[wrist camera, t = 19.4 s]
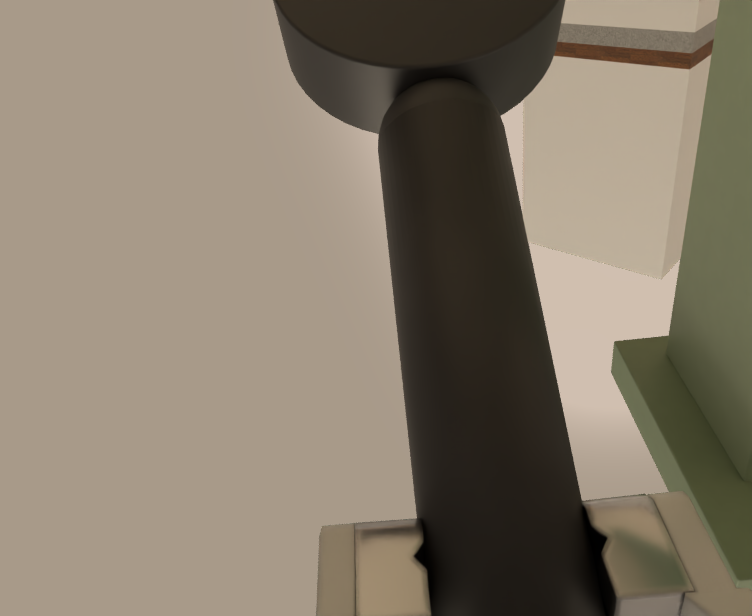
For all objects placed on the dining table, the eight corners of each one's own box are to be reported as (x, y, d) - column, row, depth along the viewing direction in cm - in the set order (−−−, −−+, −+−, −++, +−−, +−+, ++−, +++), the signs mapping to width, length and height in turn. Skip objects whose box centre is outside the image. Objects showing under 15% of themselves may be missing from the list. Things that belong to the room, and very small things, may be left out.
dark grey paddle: (289, 894, 8) (321, 840, 10) (850, 847, 8) (758, 803, 10) (265, -124, 15) (286, -29, 18) (541, -160, 15) (528, -60, 17)
